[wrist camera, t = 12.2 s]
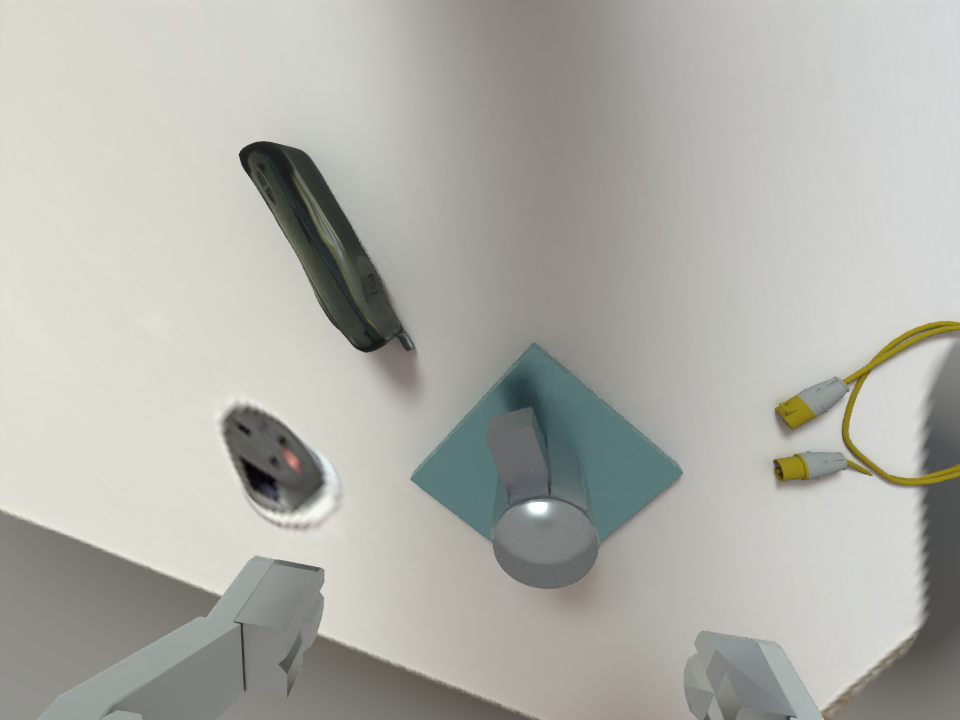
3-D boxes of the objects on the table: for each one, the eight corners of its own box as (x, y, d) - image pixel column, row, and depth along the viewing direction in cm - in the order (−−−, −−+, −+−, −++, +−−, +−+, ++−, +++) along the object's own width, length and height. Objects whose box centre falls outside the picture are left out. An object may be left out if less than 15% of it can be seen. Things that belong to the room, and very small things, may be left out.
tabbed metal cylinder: (471, 404, 33) (455, 459, 26) (554, 380, 32) (561, 431, 25) (515, 518, 36) (512, 597, 28) (593, 499, 34) (610, 577, 27)
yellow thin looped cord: (801, 303, 30) (820, 309, 28) (1063, 332, 29) (1101, 341, 27) (749, 468, 34) (762, 483, 32) (979, 499, 33) (1006, 517, 31)
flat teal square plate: (534, 342, 32) (534, 374, 26) (679, 465, 34) (712, 522, 28) (413, 472, 36) (389, 526, 30) (547, 576, 38) (551, 646, 32)
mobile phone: (222, 155, 26) (364, 383, 29) (263, 126, 25) (404, 362, 28) (270, 165, 31) (388, 360, 34) (306, 140, 30) (423, 342, 33)
